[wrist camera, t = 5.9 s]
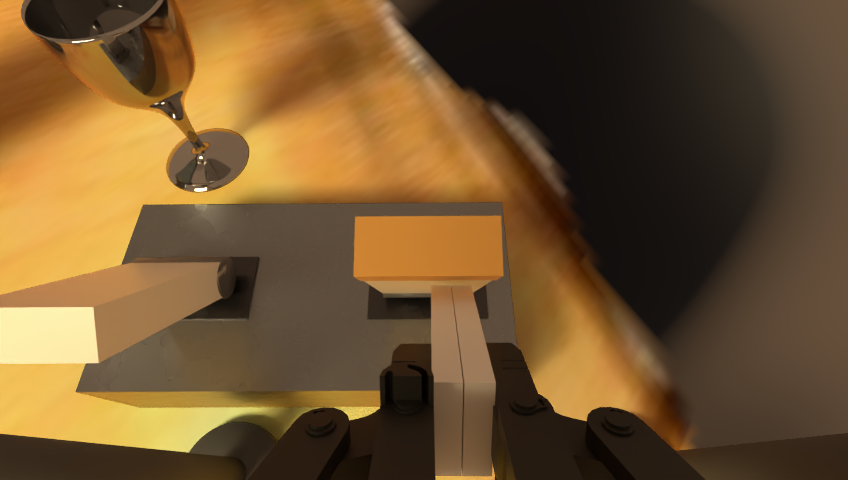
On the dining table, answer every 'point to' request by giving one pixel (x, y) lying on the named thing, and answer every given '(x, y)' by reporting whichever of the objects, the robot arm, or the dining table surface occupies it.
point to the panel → (281, 310)
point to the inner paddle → (108, 308)
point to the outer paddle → (427, 252)
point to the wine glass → (139, 73)
